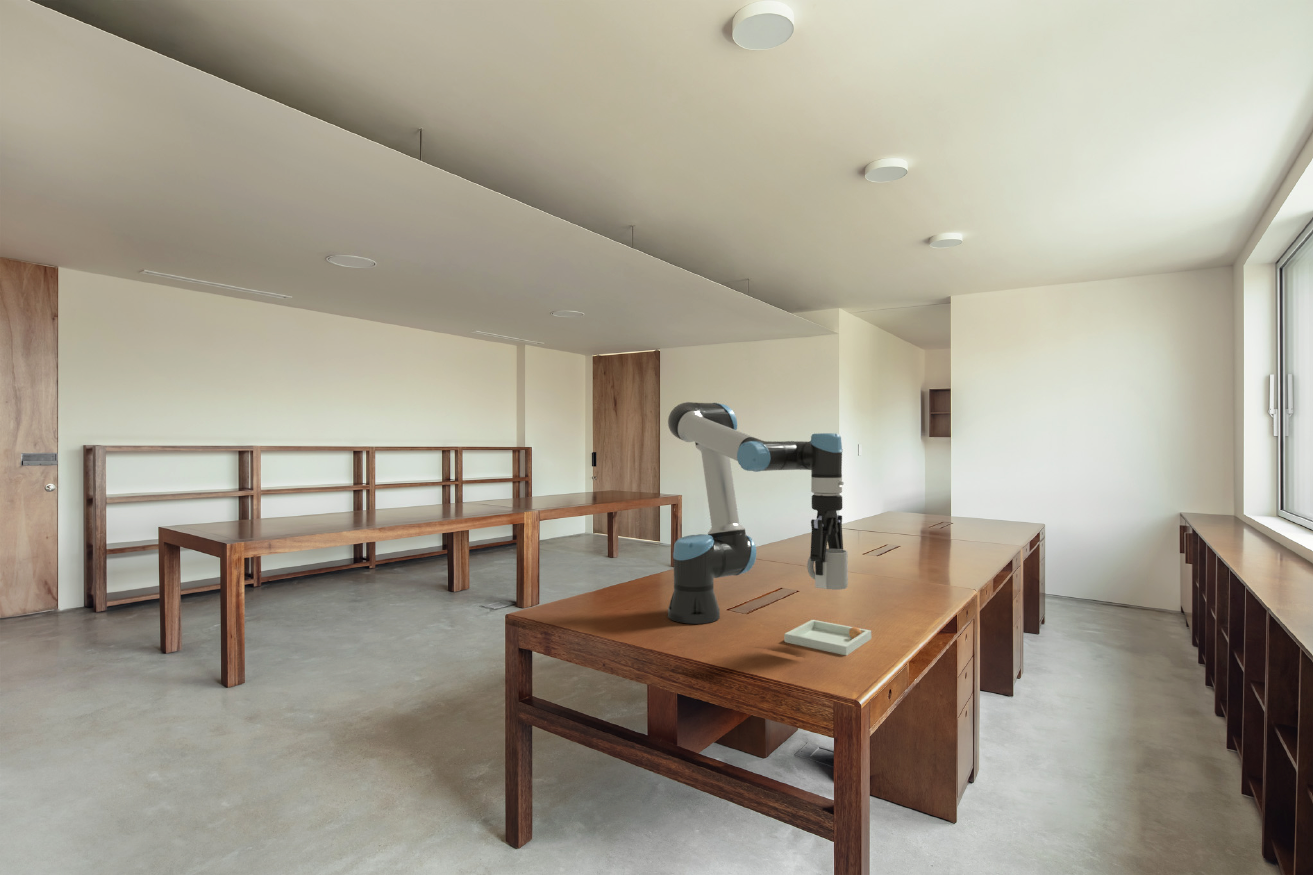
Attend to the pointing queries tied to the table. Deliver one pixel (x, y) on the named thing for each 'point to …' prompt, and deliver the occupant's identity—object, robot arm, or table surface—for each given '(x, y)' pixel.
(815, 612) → the table surface
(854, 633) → the ball
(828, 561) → the cup
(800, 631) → the tray
